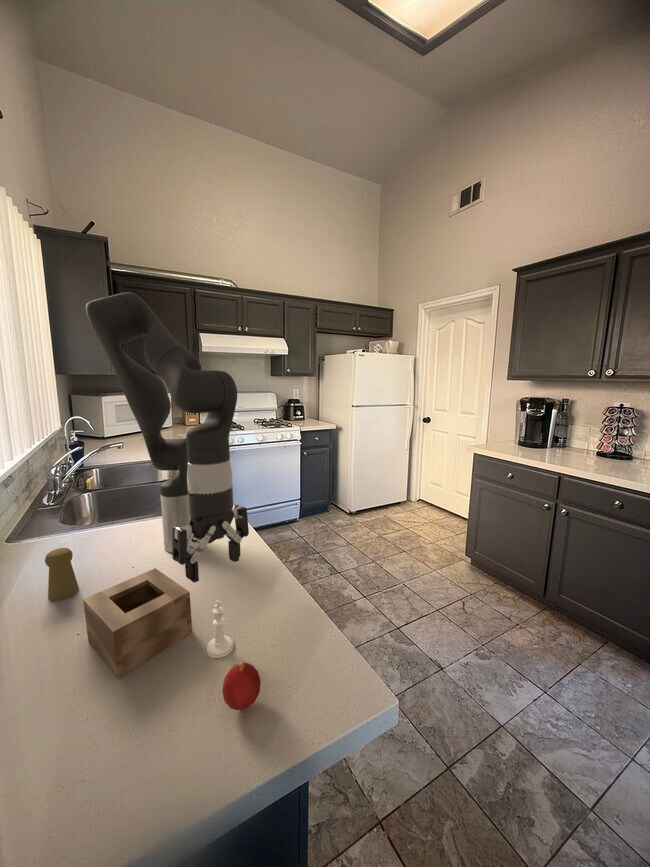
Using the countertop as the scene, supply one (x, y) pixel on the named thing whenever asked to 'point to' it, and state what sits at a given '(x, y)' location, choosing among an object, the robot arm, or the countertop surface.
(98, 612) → the drop box
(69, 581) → the cork
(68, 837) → the countertop surface
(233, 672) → the red oval fruit
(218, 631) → the chess piece
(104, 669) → the countertop surface
